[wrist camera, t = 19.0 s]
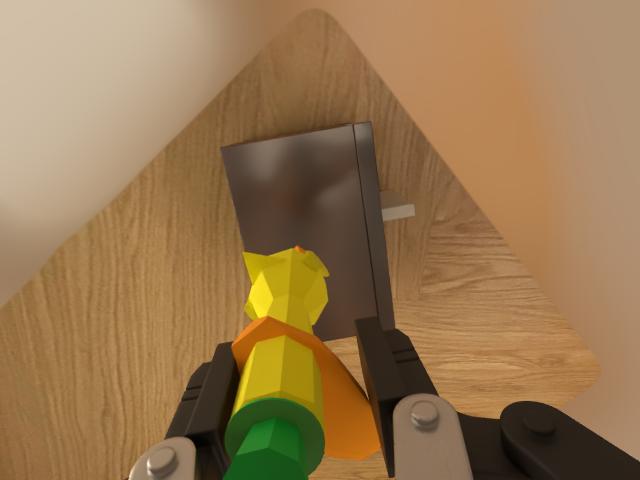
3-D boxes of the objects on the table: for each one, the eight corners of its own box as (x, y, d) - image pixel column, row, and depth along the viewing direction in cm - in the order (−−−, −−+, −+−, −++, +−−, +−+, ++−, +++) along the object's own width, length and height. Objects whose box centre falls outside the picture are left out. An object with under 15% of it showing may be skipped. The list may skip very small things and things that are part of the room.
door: (383, 134, 33) (410, 137, 25) (391, 214, 35) (419, 240, 27) (344, 141, 33) (359, 146, 25) (355, 220, 35) (372, 248, 27)
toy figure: (370, 294, 19) (471, 560, 7) (317, 334, 19) (336, 636, 8) (283, 197, 17) (239, 347, 6) (228, 244, 18) (89, 467, 6)
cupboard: (350, 122, 33) (371, 121, 24) (371, 278, 38) (395, 330, 29) (241, 141, 33) (218, 147, 24) (276, 295, 38) (269, 353, 29)
